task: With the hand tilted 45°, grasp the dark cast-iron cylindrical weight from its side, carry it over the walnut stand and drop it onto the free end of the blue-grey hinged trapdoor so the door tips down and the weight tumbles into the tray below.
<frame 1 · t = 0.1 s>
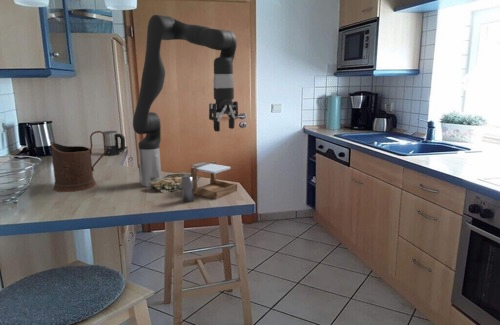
hand: (224, 129, 144), 29 cm above the counter, tool pointing down, fingers open, 8 cm apart
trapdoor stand: (212, 191, 165), on the counter
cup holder: (81, 185, 175), on the counter
trapdoor: (209, 168, 163), point 10 cm above the counter, hinge at 0.0°
rock: (176, 187, 173), on the counter
milk frother: (116, 153, 246), on the counter
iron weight: (188, 200, 153), on the counter
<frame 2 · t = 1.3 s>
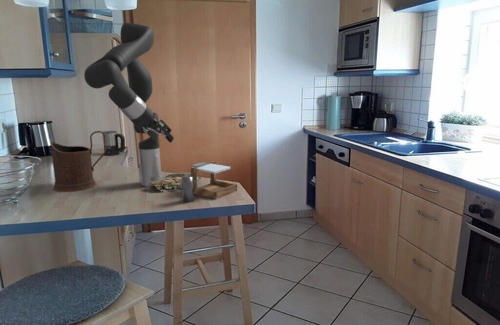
hand: (163, 139, 138), 27 cm above the counter, tool tilted 45°, fingers open, 8 cm apart
nothing on the counter moved.
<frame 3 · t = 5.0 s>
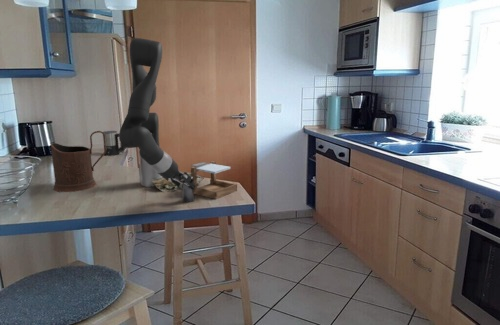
hand: (186, 186, 151), 6 cm above the counter, tool tilted 45°, fingers open, 8 cm apart
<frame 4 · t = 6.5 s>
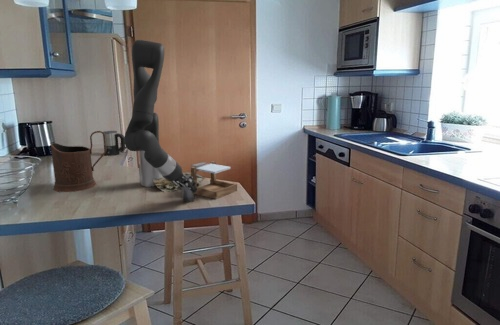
hand: (191, 189, 154), 4 cm above the counter, tool tilted 45°, fingers closed on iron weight, 4 cm apart
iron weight: (188, 200, 153), on the counter, touching gripper
when the fingers open (18 cm above the counter, at t = 10.1 s): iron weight drops 4 cm, resting on trapdoor.
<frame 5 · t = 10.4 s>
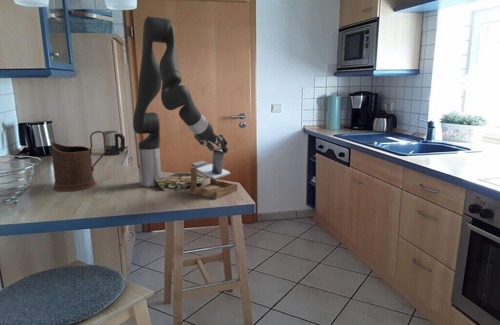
hand: (219, 150, 160), 18 cm above the counter, tool tilted 45°, fingers open, 7 cm apart
trapdoor: (209, 170, 164), point 9 cm above the counter, hinge at -12.9°, touching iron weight
rock: (182, 186, 174), on the counter
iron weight: (217, 172, 161), point 9 cm above the counter, tilted 9°, touching trapdoor
everything else where it was.
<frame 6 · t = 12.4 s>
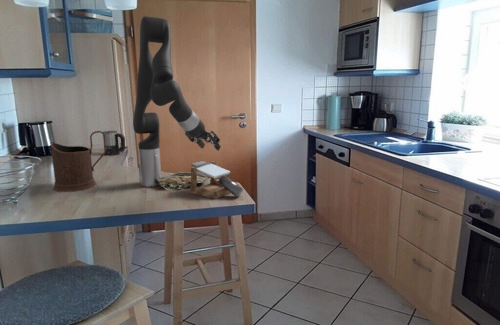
hand: (211, 147, 155), 20 cm above the counter, tool tilted 45°, fingers open, 8 cm apart
trapdoor: (209, 170, 164), point 9 cm above the counter, hinge at -10.8°
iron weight: (221, 179, 159), point 7 cm above the counter, tilted 118°, touching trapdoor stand
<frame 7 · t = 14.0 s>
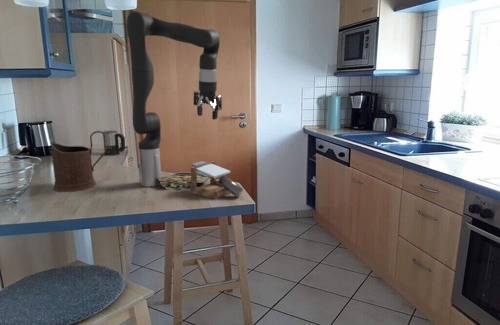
hand: (207, 117, 164), 32 cm above the counter, tool pointing down, fingers open, 8 cm apart
trapdoor: (209, 169, 164), point 10 cm above the counter, hinge at -9.8°
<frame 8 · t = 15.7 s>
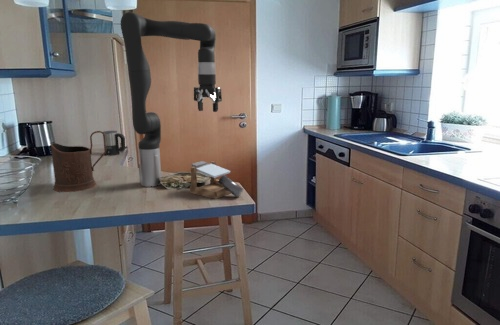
hand: (207, 111, 166), 34 cm above the counter, tool pointing down, fingers open, 8 cm apart
at the end: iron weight point 6.6 cm above the counter; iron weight inside the target area on the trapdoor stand (3.5 cm from its centre), point 6.6 cm above the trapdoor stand's base; the gripper is holding nothing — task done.
